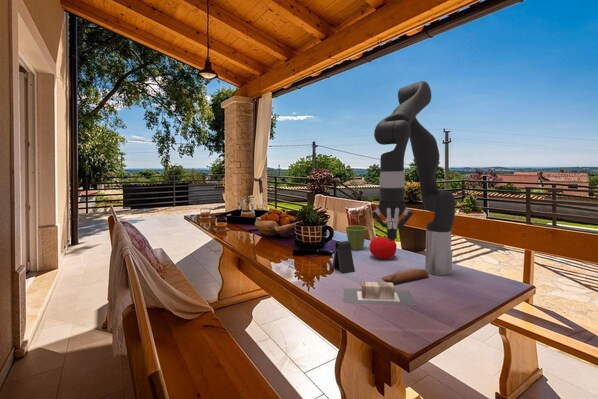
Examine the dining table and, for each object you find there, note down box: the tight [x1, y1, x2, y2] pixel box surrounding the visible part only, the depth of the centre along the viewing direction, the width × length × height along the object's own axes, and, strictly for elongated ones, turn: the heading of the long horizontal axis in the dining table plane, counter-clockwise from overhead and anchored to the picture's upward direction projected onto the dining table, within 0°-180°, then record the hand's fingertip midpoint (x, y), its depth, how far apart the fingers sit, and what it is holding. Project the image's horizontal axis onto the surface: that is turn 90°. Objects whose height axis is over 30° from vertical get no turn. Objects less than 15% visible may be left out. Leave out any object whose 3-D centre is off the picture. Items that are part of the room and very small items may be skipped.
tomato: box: [368, 235, 398, 260], centre depth 149 cm, size 13×12×11 cm
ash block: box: [361, 281, 396, 299], centre depth 103 cm, size 4×4×10 cm
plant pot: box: [344, 225, 368, 251], centre depth 166 cm, size 12×12×11 cm
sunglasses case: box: [381, 268, 430, 286], centre depth 119 cm, size 18×7×7 cm
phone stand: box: [331, 240, 356, 274], centre depth 133 cm, size 9×6×12 cm, turn 21°
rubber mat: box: [343, 287, 418, 307], centre depth 103 cm, size 22×12×1 cm, turn 82°
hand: (391, 240), depth 101 cm, fingers closed
